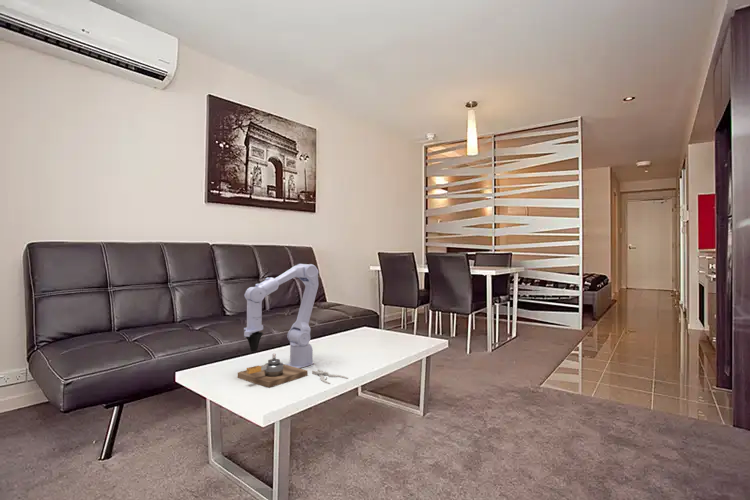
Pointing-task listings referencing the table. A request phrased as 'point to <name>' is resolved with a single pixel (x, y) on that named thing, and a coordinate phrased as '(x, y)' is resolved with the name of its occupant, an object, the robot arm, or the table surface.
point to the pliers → (326, 375)
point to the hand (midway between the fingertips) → (254, 351)
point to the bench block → (270, 381)
